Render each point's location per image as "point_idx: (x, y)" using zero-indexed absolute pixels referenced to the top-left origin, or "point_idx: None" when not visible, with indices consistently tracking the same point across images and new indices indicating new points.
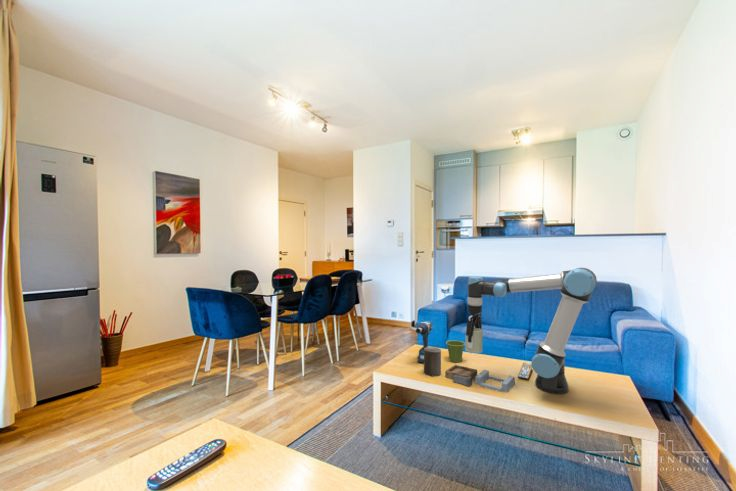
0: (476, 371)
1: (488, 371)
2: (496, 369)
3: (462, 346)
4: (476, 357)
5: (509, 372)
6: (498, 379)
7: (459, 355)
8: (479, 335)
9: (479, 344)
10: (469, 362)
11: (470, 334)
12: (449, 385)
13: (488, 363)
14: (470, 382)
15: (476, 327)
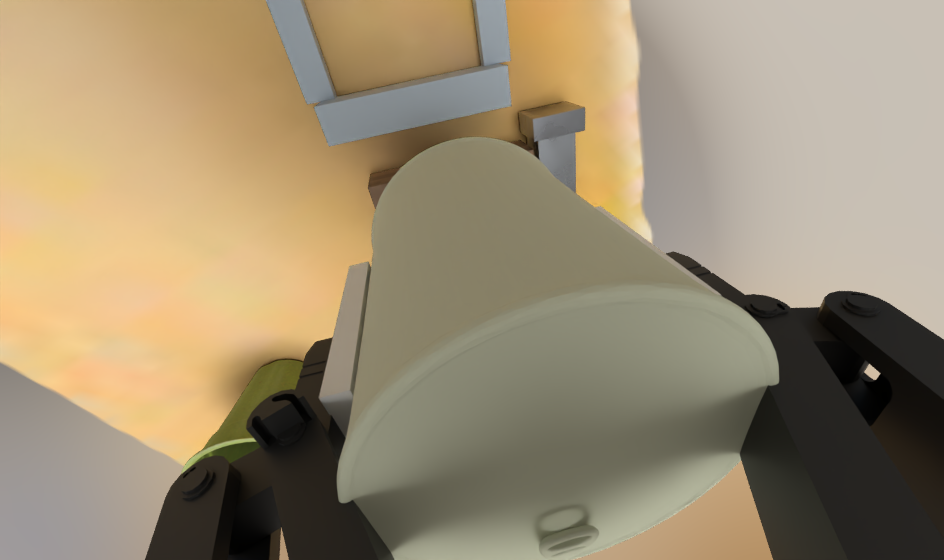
0: (383, 181)
1: (325, 103)
2: (120, 160)
3: (246, 433)
4: (109, 365)
5: (34, 41)
6: (302, 2)
7: (284, 387)
8: (624, 241)
9: (539, 173)
10: (229, 333)
11: (885, 310)
12: (611, 187)
13: (96, 266)
14: (549, 108)
15: (385, 546)
